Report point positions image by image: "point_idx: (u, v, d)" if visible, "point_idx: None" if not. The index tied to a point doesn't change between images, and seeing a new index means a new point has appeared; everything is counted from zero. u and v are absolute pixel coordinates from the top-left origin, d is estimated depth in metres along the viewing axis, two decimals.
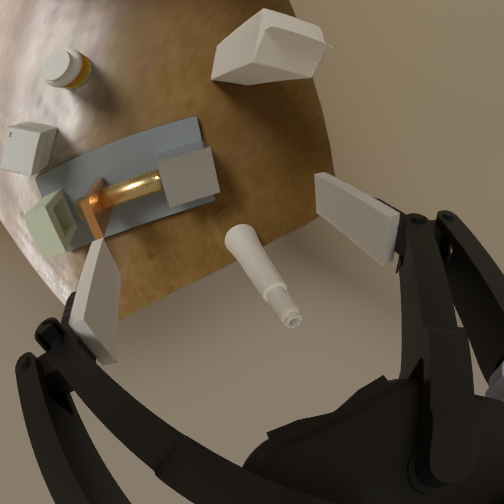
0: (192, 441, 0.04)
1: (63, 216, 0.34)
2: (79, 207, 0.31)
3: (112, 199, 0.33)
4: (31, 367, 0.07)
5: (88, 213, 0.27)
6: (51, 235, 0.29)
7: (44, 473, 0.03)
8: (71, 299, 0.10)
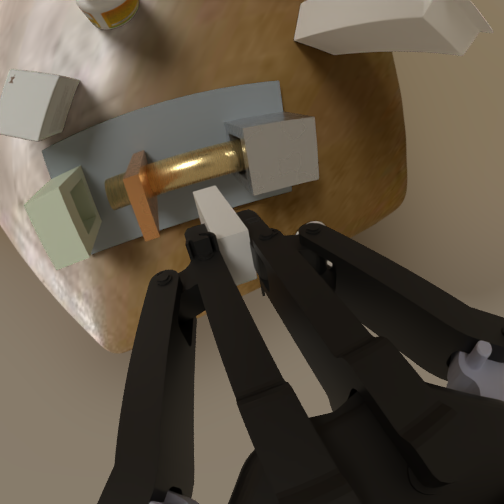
0: (290, 389, 0.05)
1: (82, 205, 0.25)
2: (111, 191, 0.22)
3: (166, 180, 0.23)
4: (170, 286, 0.09)
5: (136, 198, 0.18)
6: (67, 233, 0.19)
7: (127, 393, 0.06)
8: (190, 232, 0.14)
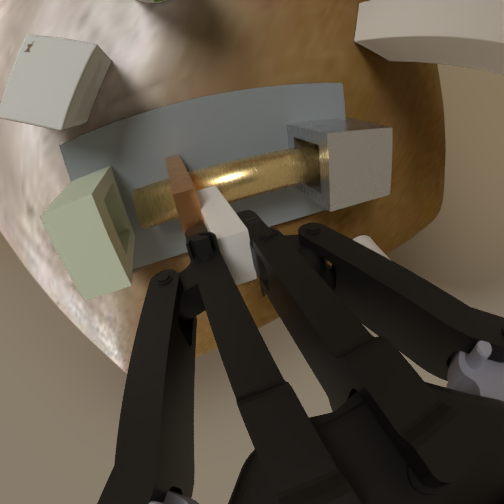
0: (290, 389, 0.05)
1: (112, 216, 0.21)
2: (143, 206, 0.18)
3: None
4: (170, 286, 0.09)
5: (190, 221, 0.14)
6: (102, 255, 0.16)
7: (127, 393, 0.06)
8: (190, 232, 0.14)
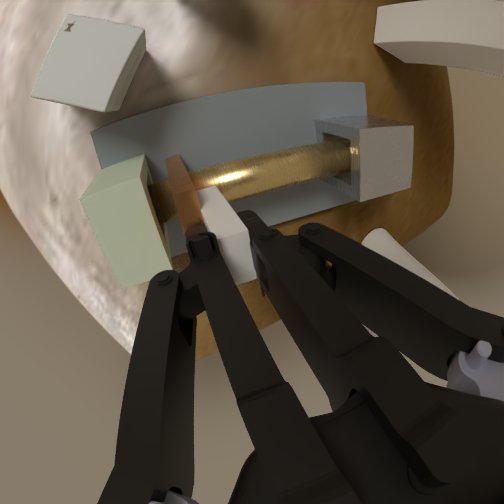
0: (290, 389, 0.05)
1: None
2: None
3: None
4: (170, 286, 0.09)
5: (190, 221, 0.14)
6: (145, 240, 0.16)
7: (128, 393, 0.06)
8: (190, 232, 0.14)
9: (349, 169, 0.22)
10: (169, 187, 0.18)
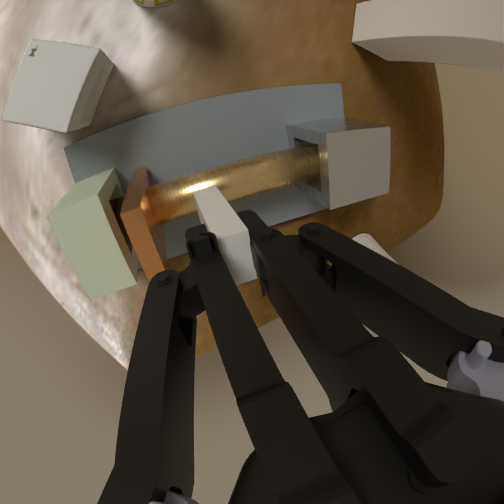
0: (290, 389, 0.05)
1: None
2: None
3: (174, 207, 0.19)
4: (170, 286, 0.09)
5: (139, 238, 0.14)
6: (108, 254, 0.16)
7: (127, 393, 0.06)
8: (190, 232, 0.14)
9: (319, 175, 0.22)
10: None
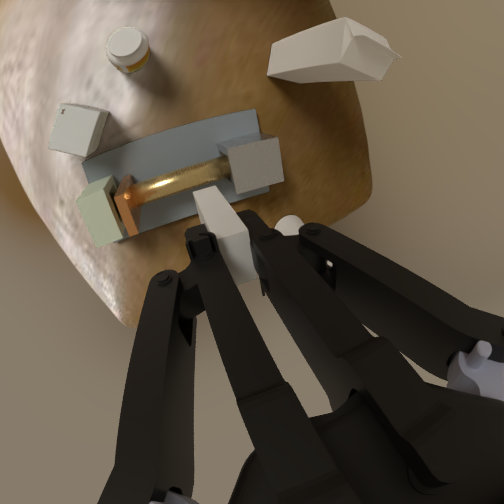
0: (290, 389, 0.05)
1: None
2: None
3: (144, 196, 0.33)
4: (170, 286, 0.09)
5: (122, 209, 0.28)
6: (107, 220, 0.30)
7: (127, 393, 0.06)
8: (190, 232, 0.14)
9: None
10: None
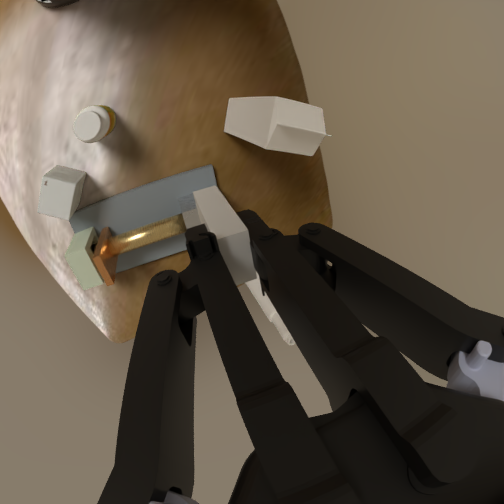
0: (290, 389, 0.05)
1: None
2: None
3: (118, 249, 0.40)
4: (170, 286, 0.09)
5: (100, 266, 0.35)
6: (90, 271, 0.37)
7: (128, 393, 0.06)
8: (190, 232, 0.14)
9: None
10: None
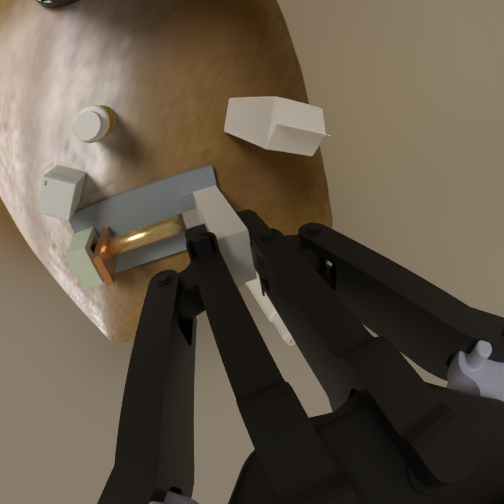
0: (290, 389, 0.05)
1: None
2: None
3: (118, 249, 0.40)
4: (170, 286, 0.09)
5: (100, 266, 0.35)
6: (90, 271, 0.37)
7: (128, 393, 0.06)
8: (190, 232, 0.14)
9: None
10: None
